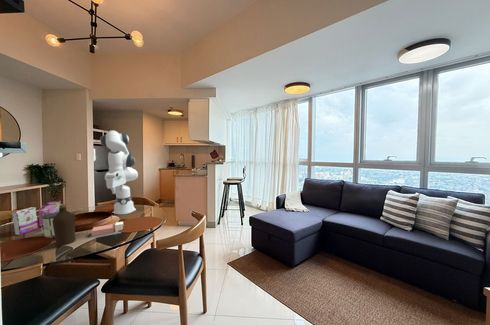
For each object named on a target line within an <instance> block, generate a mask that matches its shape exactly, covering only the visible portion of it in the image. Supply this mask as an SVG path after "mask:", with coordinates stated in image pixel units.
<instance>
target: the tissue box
mask: <svg viewBox="0 0 490 325" xmlns="http://www.w3.org/2000/svg"><path fill="white" fill-rule="evenodd" d="M58 213H59V212H55V213H50V214H46V215H44V216H42V219H43V226H42V227H43V233H44V234H43V235H44V237H45V236H54V237H55V234H54V228H53V223H52V221H53V218H54V217H55V216H56V215H57V214H58Z"/></svg>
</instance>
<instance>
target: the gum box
mask: <svg viewBox="0 0 490 325" xmlns="http://www.w3.org/2000/svg"><path fill="white" fill-rule="evenodd" d="M60 205H62V204H61V200H53V201H48V202H47V203H46V204H45V203H44V205H42V206H41V207H39V208H38V224H39V227H40V226H41V227H43V226H42V225H43V219H42V216H44V215H46V214H50V213H55V212H59V206H60Z"/></svg>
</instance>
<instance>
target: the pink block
mask: <svg viewBox="0 0 490 325" xmlns="http://www.w3.org/2000/svg"><path fill="white" fill-rule="evenodd" d="M114 228H115V223H111V224H106V225H100V226H93V228H92V230H91V233H92V237H95V236H100V235H105V234H111V233H114Z"/></svg>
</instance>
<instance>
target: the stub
mask: <svg viewBox="0 0 490 325" xmlns="http://www.w3.org/2000/svg"><path fill="white" fill-rule="evenodd" d="M123 226H124V221H119V222H118V221H117V222H115V223H114V228H115V232H118V231H119V230H122V229H123Z"/></svg>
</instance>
